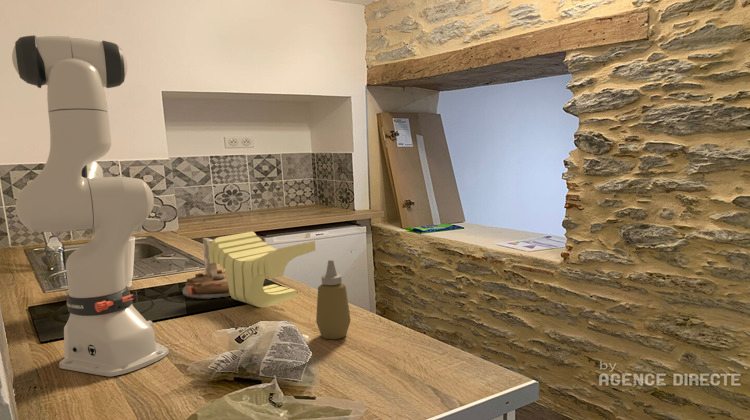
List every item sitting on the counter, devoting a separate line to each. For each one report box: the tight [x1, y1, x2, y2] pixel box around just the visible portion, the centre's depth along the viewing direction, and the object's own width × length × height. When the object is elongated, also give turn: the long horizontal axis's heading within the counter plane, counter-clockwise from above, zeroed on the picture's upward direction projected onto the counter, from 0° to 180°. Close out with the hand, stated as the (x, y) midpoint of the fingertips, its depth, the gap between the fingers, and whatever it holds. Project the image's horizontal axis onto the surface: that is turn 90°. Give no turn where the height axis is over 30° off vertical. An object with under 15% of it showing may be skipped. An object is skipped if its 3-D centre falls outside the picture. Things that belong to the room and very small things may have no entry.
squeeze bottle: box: [315, 259, 352, 340], centre depth 119 cm, size 8×8×18 cm
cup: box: [124, 236, 136, 288], centre depth 169 cm, size 12×12×16 cm
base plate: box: [182, 285, 230, 300], centre depth 163 cm, size 22×22×3 cm
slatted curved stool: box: [209, 231, 316, 309], centre depth 149 cm, size 30×16×18 cm, turn 48°
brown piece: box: [186, 237, 229, 294], centre depth 162 cm, size 19×19×14 cm
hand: (159, 215), depth 157 cm, fingers open, 8 cm apart
